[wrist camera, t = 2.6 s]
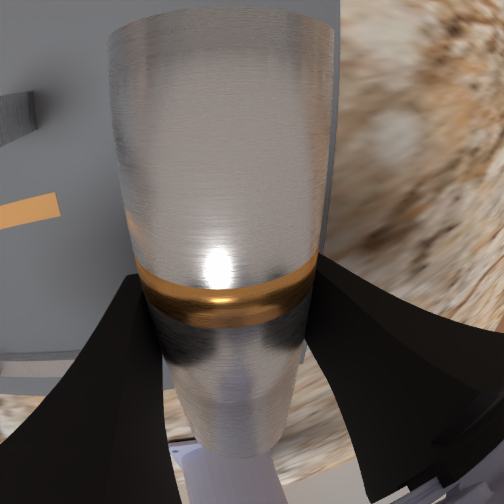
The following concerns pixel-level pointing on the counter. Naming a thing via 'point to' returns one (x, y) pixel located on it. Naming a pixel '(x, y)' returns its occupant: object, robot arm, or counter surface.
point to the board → (78, 171)
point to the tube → (225, 202)
